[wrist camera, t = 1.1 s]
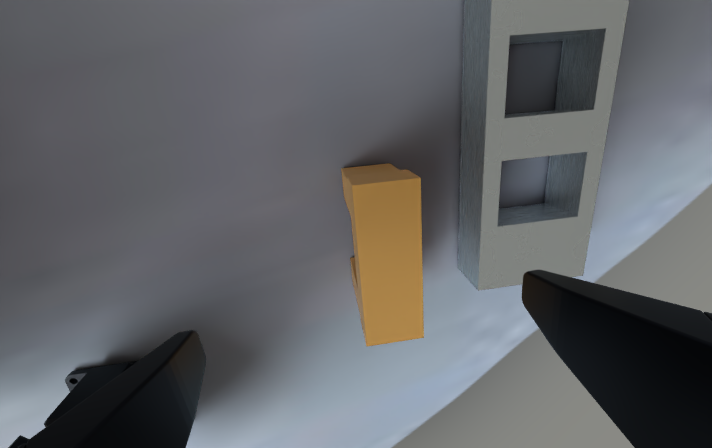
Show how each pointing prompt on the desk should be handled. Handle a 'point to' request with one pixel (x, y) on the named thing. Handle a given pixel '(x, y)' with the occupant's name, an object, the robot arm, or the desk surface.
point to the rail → (534, 135)
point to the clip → (386, 251)
